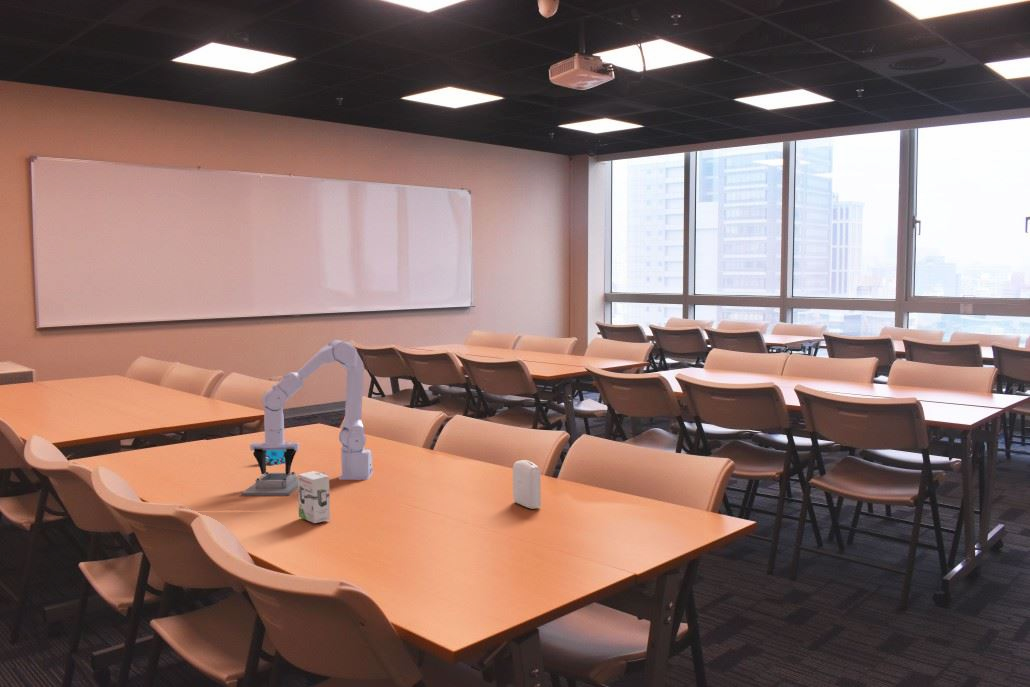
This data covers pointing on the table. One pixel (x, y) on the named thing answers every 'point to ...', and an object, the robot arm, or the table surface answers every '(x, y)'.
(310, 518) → the ink box
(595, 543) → the table surface
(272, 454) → the blue spiky round piece
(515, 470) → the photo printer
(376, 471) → the table surface
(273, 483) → the tray
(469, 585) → the table surface
